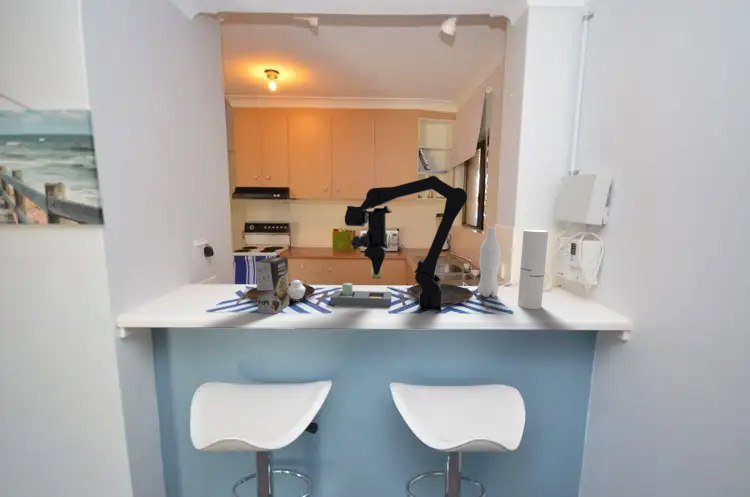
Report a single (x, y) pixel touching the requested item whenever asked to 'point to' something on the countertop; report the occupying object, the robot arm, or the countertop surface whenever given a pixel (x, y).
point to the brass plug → (374, 274)
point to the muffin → (296, 289)
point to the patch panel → (362, 298)
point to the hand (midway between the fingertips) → (376, 273)
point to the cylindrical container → (532, 268)
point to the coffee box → (272, 284)
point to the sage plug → (347, 289)
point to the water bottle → (489, 264)
